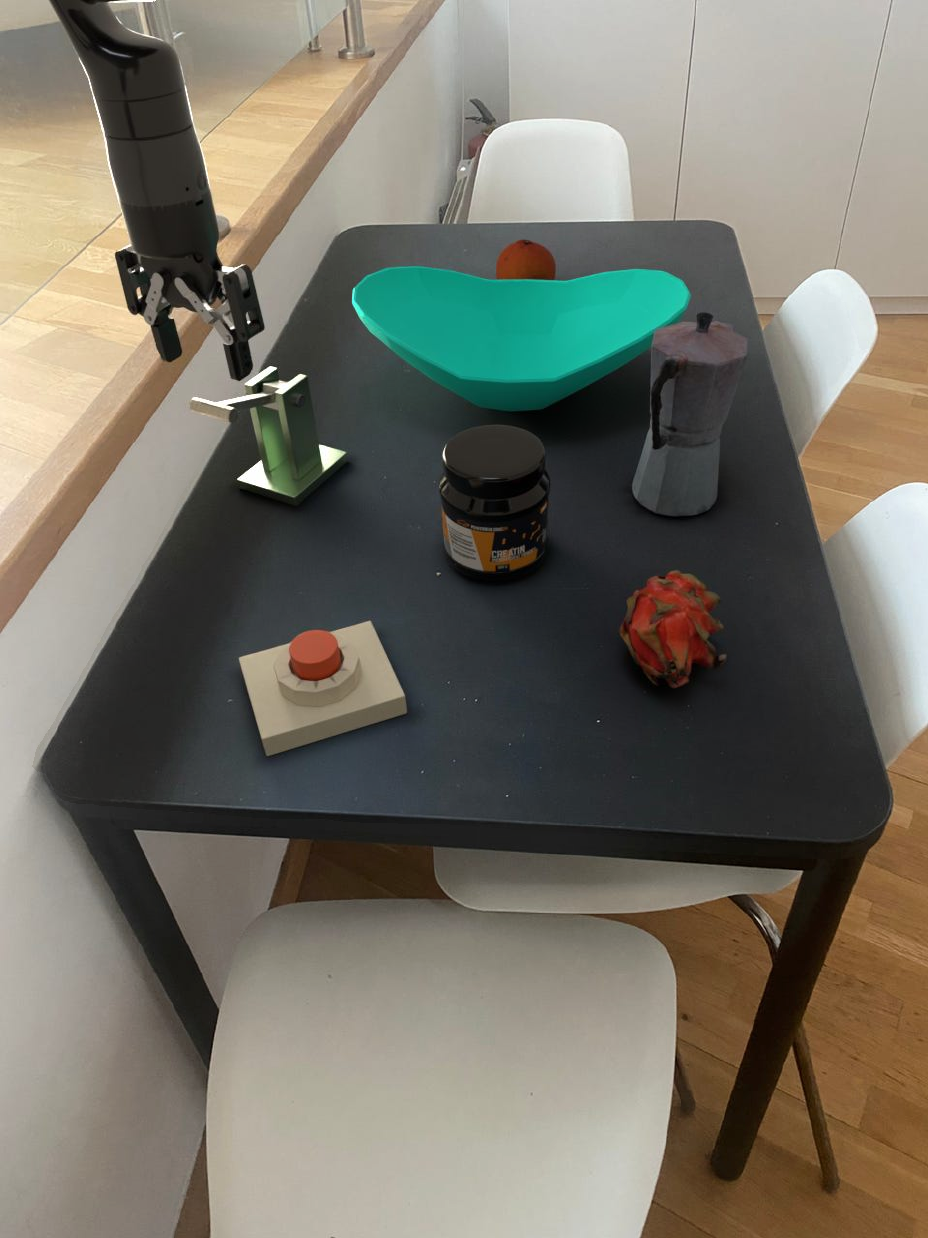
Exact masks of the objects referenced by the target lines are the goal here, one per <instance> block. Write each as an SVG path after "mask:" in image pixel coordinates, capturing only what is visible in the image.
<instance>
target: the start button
mask: <svg viewBox="0 0 928 1238" xmlns="http://www.w3.org/2000/svg"><path fill="white" fill-rule="evenodd" d="M329 632H330V631H327V630H323V629H312V630H311V629H310V630H307V631H304V632H302V633H300V634H298V635H296V637H294V638H293V639H292V641H290V642H291V644H290V647H289V653H290V658H291V662H292V666H293V670H294V672H295V674H296V675H297V676H299V677H300V678H302V679H304V680H309V681H318V680H323V679H326V678H328V677H330V676H332V675H333V674H334V673H335V672H336V671H337V670H338V669H339V667H340V664H341V658H340V652H339V647H338V642H337V639H336V638H335V636H334V635H333V634H331V633H329Z"/></svg>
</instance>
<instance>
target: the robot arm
mask: <svg viewBox="0 0 928 1238" xmlns="http://www.w3.org/2000/svg"><path fill="white" fill-rule="evenodd" d="M153 1H154V2H155V0H48V2H49V4H50V5H51V7H52V9H53V11H54V12H55V14H56V16H57V18H58V20H59V22H60V24H61V25H62V28H63V29H64V31H65V33H66V36H67V37H68V39H69V42H70V43H71V46H72V47H73V49H74V52H75V53H76V56H77V58H78V59H79V61H80V63H81V65H82V67H83V70H84V72H85V74H86V76H87V78H88V81H89V82H88V83H89V86H90V90H91V92H92V97H93V101H94V104H95V108H96V111H97V115H98V118H99V122H100V125H101V131H102V132H103V138H104V142H105V150H106V157H107V162H108V167H109V170H110V174H111V178H112V183H113V187H114V189H115V193H116V196H117V200H118V204H119V208H120V210H121V214H122V218H123V222H124V225H125V228H126V233H127V236H128V240H129V243H130V244H129V245H127V246H125V247H123V248H120V249H118V250H116V251H115V252H114V258H115V263H116V266H117V270H118V275H119V278H120V282H121V287H122V290H123V295H124V298H125V299H124V300H125V303H126V307H127V309H128V311H129V313H130V314H131V315H132V316H137V315H140V316H142V317H143V320H144V321H145V323H146V324H147V325H149V327H150V329H151V333H152V337H153V341H154V344H155V347H156V350H157V352H158V354H159V356H160V359H161V361H162V362H166V363H172V362H173V361H175V360H177V359H179V358H181V356H182V355H183V349H182V344H181V340H180V337H179V333H178V332H179V331H178V329H177V326H176V325H177V324H176V321H175V318H174V317H171V315H172V313H173V310H174V308H175V309H182V308H184V309H186V310H188V311H190V312H193V313H197V314H198V315H199V316H200V317H201V319H202V320H203V322H204V323H205V324H207V325H209V326H212V327H213V329H215V331H216V332H217V333H218V335H219V336H220V338H221V339H222V340H223V343H222V347H223V351H224V354H225V360H226V364H227V369H228V373H229V378H230V380H232V381H237V382H241V381H243V380H244V379H245V378H247V377H248V376H250V375H251V374H252V371H253V369H254V363H253V358H252V353H251V348H250V342H249V341H250V340H251V339H252V338H253V337H255V336H257V335H258V334H260V333H262V332H263V331H264V330H265V321H264V317H263V313H262V309H261V305H260V301H259V296H258V291H257V288H256V284H255V280H254V276H253V272H252V269H251V267H250V266H249V265H247V264H245V263H243V264H241V265H239V266H237V267H229V266H224V264H223V263H222V261H221V260H220V257H219V255H218V245H219V240H220V238H221V237H220V235H221V233H220V228H219V223H218V218H217V215H216V209H215V205H214V204H215V203H214V200H213V199H214V198H213V194H212V191H211V190H212V189H211V185H210V181H209V177H208V172H207V165H206V161H205V157H204V153H203V150H202V145H201V143H200V140H199V137H198V135H197V132H196V129H195V125H194V124H195V123H194V122H193V121H194V120H193V116H192V111H191V110H192V109H191V105H190V101H189V97H188V92H187V87H186V82H185V81H186V80H185V77H184V74H183V68H182V64H181V61H180V58H179V54H178V52H177V50H176V49H175V47H174V46H172V44H171V43H169V42H167V41H166V40H163V39H161V38H157V37H154V36H150V35H146V34H142V33H139V32H136V31H134V30H131V29H129V28H128V27H126V26H125V25H123V23H122V22H121V21H120V20H119V18H118V17H117V15H116V14H115V12H114V11H113V10H112V8H111V6H110V4H109V3H131V2H132V3H134V2H135V3H138V2H140V3H141V2H142V3H143V2H153ZM138 289H139V292H140V296H139V295H138ZM217 299H218V300H219V302H220V303H221V305H219V306H218V307H216V308H213V307H211V306H212V305H214V304H215V302H216V301H217ZM247 316H248V319H247ZM224 317H226V318H227V319H228V321H230V323H231V324H232V326H231V327H230V325H229V324H228V323H227V321H226V320H225V318H224Z"/></svg>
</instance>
